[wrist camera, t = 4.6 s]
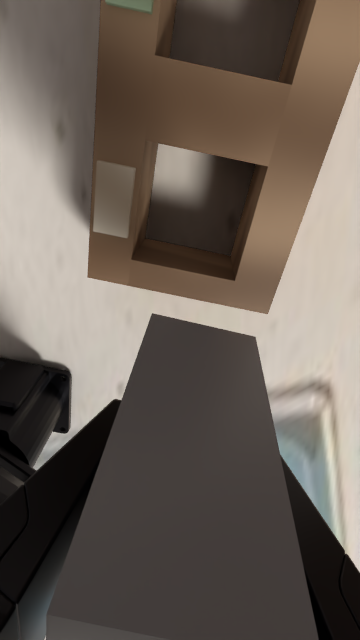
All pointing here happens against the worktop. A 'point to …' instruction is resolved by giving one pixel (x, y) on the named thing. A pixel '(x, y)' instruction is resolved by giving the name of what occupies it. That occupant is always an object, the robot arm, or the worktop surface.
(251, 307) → the socket block
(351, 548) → the worktop surface
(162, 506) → the plug
